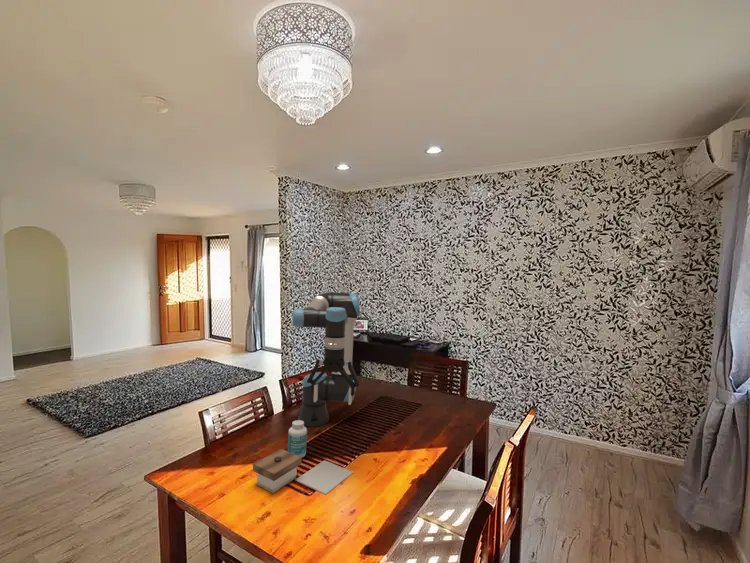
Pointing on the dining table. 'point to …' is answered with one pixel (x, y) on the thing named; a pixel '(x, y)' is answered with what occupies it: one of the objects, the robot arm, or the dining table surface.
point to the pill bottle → (297, 438)
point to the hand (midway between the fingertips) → (332, 402)
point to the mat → (324, 477)
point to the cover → (277, 464)
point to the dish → (276, 481)
